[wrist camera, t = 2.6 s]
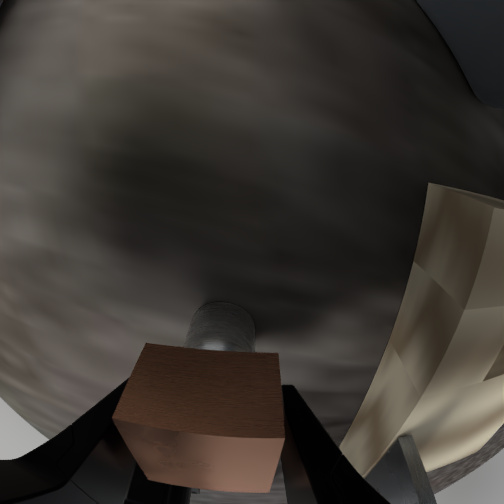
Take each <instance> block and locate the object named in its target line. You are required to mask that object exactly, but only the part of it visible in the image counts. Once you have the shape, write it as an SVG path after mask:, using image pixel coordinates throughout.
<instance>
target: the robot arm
mask: <svg viewBox="0 0 504 504" xmlns="http://www.w3.org/2000/svg"><path fill="white" fill-rule="evenodd" d="M129 378H130V377H129ZM129 378H128V379H127V380H125V381H124V382H123V383H122V384H121V385H119V386H118V387H117V388H116V389H114V390H113V391H112V392H111V393H110V394H108V395H107V396H106V397H105V398H103V399H102V400H101V401H100V402H98V403H97V404H96V405H95V406H93V407H92V408H91V409H90V410H88V411H87V412H86V413H85V414H83V415H82V416H81V417H80V418H78V419H77V420H76V421H75V422H73V423H72V425H69V426H68V427H67V428H66V429H64V430H63V431H62V432H60V433H59V434H58V435H56V436H55V437H53V438H52V439H50V440H49V441H47V442H46V443H44V444H43V445H41V446H39V447H37V448H36V449H34V450H32V451H30V452H29V453H27V454H25V455H24V456H22V457H19V458H16V459H12V460H0V504H189V503H190V496H191V493H192V494H199V493H200V489H198V488H191V487H184V486H178V485H172V484H167V483H161V482H156V481H152V480H148V478H147V477H146V475H145V474H144V472H143V471H142V469H141V468H140V466H139V465H138V463H137V461H136V460H135V458H134V457H133V455H132V453H131V452H130V450H129V448H128V447H127V445H126V443H125V441H124V440H123V438H122V436H121V434H120V432H119V431H118V429H117V427H116V425H115V423H114V421H113V419H112V417H113V414H114V412H115V410H116V407H117V405H118V403H119V400H120V398H121V396H122V394H123V391H124V389H125V387H126V385H127V382H128V380H129ZM281 391H282V403H283V416H284V429H285V441H284V444H283V448H282V451H281V455H280V456H281V462H282V469H283V476H284V483H285V490H286V496H287V503H288V504H391V503H390V502H389V501H387V500H386V499H385V498H384V497H383V496H382V495H381V494H380V493H379V492H378V491H377V490H376V489H374V488H373V487H372V486H371V485H370V484H369V483H368V482H367V481H366V480H365V479H364V478H363V477H362V476H361V475H360V474H359V473H358V472H357V470H356V469H355V468H354V467H353V466H352V464H351V463H350V462H349V461H348V459H347V458H346V457H345V455H344V454H342V451H341V450H340V449H339V447H338V446H337V445H336V443H335V442H334V441H333V439H332V438H331V437H330V435H329V434H328V433H327V431H326V430H325V429H324V427H323V426H322V424H321V423H320V422H319V420H318V419H317V418H316V416H315V415H314V413H313V412H312V411H311V409H310V408H309V406H308V405H307V404H306V402H305V401H304V399H303V398H302V397H301V395H300V394H299V392H298V391H297V389H296V388H295V387H294V386H293V385H281Z"/></svg>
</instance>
